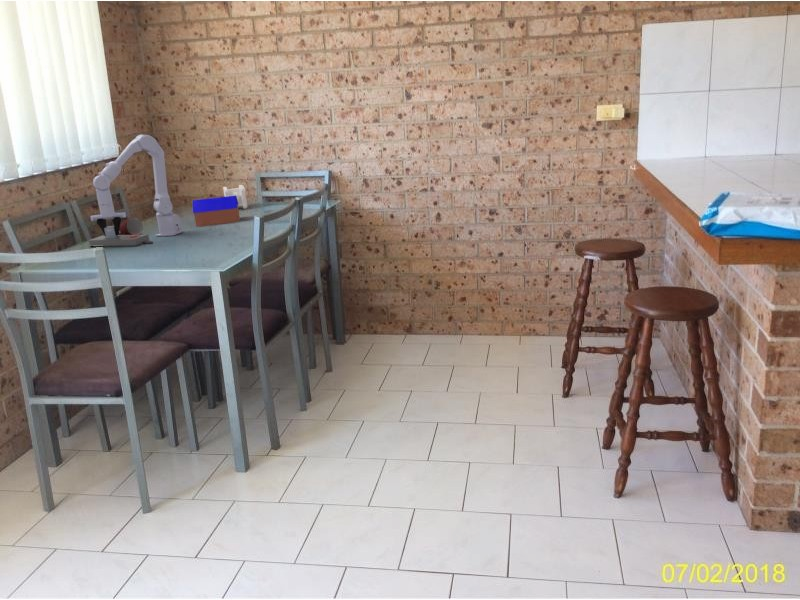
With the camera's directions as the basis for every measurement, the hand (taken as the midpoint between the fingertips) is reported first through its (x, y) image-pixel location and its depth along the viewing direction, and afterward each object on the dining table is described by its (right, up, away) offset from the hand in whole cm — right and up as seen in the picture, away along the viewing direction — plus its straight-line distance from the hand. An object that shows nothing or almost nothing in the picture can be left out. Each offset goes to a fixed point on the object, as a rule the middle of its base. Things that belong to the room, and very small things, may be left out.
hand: (112, 235), depth 320 cm
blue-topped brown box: (+38, +9, +32) cm, 50 cm away
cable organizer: (+39, +19, +65) cm, 79 cm away
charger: (0, -3, +1) cm, 3 cm away
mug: (-3, +4, +20) cm, 20 cm away
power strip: (+6, -4, -1) cm, 7 cm away
